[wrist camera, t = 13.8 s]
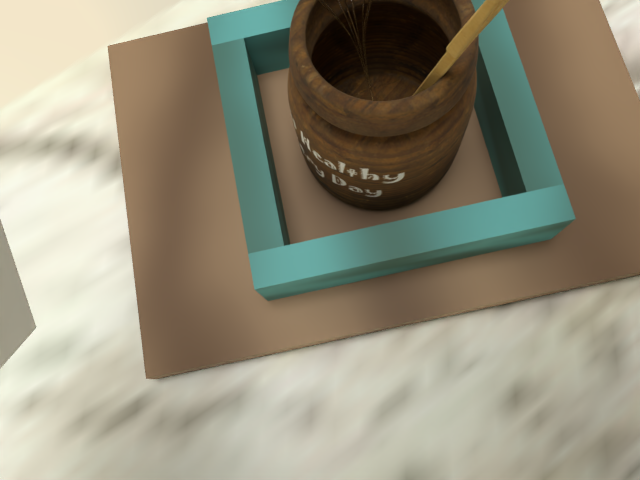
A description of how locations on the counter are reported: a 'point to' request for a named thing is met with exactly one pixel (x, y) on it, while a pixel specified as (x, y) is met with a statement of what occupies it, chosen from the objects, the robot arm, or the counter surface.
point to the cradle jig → (356, 222)
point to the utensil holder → (383, 92)
